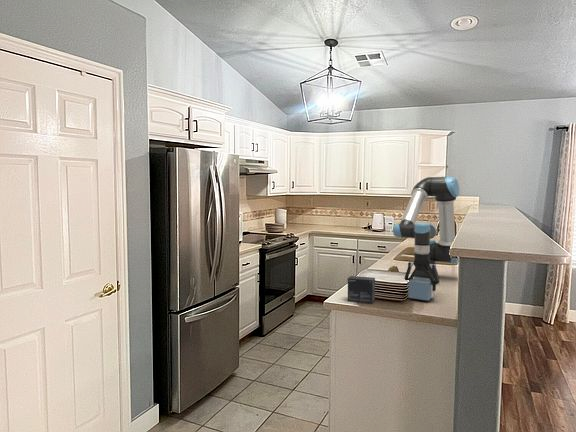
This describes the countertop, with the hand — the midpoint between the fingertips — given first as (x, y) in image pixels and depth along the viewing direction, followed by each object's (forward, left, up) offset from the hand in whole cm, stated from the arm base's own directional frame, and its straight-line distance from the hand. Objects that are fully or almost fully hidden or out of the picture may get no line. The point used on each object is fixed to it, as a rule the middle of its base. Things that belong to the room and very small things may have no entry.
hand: (421, 295), depth 217 cm
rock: (-30, -28, -2) cm, 41 cm away
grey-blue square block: (0, 0, -1) cm, 1 cm away
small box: (+19, -25, -2) cm, 31 cm away
